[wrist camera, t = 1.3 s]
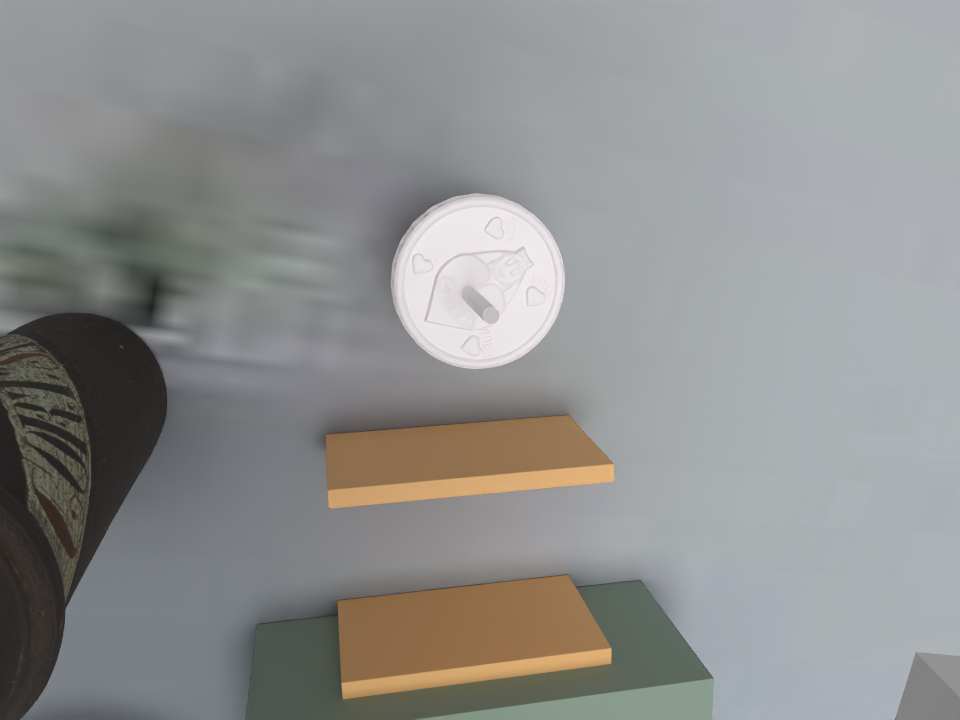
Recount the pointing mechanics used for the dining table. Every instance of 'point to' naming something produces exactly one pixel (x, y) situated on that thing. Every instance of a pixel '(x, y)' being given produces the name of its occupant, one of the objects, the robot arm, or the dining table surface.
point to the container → (63, 475)
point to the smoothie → (477, 281)
